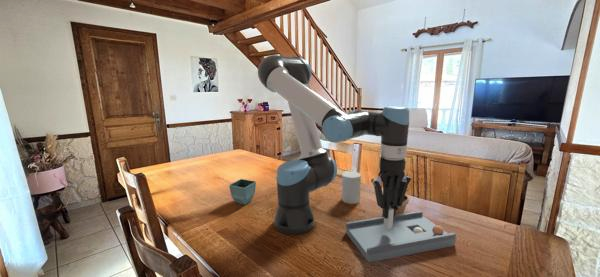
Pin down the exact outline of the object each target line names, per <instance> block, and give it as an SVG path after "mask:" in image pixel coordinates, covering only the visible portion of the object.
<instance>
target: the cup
mask: <svg viewBox="0 0 600 277" xmlns="http://www.w3.org/2000/svg"><path fill="white" fill-rule="evenodd" d="M361 180H362V174H361V173H360V172H357V171H344V172H342V174H341V201H342V202H344V203H346V204H349V205H350V204H351V205H355V204H359V203H360V202H361V188H362V187H361V184H362V182H361Z"/></svg>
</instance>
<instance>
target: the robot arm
mask: <svg viewBox="0 0 600 277" xmlns="http://www.w3.org/2000/svg"><path fill="white" fill-rule="evenodd" d="M257 75H258V79H259V81H260V83H261V85H263V86H264V87H265V88H266V89H267V90H268V91H270V92H271V93H277V94H278V95H280V96H281V97H282V98H283V99H285V100H286V101H287V103H288V108H289V111H290V116H291V118H292V123H293V127H294V131H295V134H296V139H297V141H298V145H299V150H300V155H299V157H298V159H294V160H288V161H285V162H283V163H281V164H280V165H279V166H278V167H277V169H276V190H277V208H276V212H275V215H274V218H273V220H274V221H273V223H274V224H273V225H274V228H275V229H276V230H277V231H278V232H279V233H280V234H281V233H282V234H285V235H290V236H294V235H301V234H304V233H307V232H309V231H311V230H312V229H313V228H314V227H315V214H314V213H313V210H312V207H311V204H310V193H313V192H315V191H317V190H319V189H321V188H323V187H326V186H328V185H330V184H331V183H332V182H334V180H335V179H336V177H337V175H338V167H337V163H336V161H335V159H334V158H332V157H331V156H330V155H329V154H328V151H327V149H325V148H323V147H322V143H321V139H320V136H319V131H318V129H317V125H318V126H319V127H321V130H322V134H323V135H324V138H325V139H326V140H327V141H328V142H330V143H335V144H336V143H342V142H343V143H344V142H346V141H348V140H351V139H355V138H360V137H361V136H362V137H363V136H367V135H368V136H374V137H375V136H376V137H380V138H381V141H380V151H379V152H380V154H379V155H380V157H379V172H378V174H377V177H376V178H372V179H371V183H372V185H373V187H374V193H375V197H376V200H375V201H376V204H377V206H378V207H379V208H381V209H382V217H384V225H385V226H386V227H387V228H388V229H389V228H392V227H393V217H395V211H396V210H398V206H401V205H402V203H403V199H404V196H405V195H406V193H407V192H406V190H407V189H408V188H407V187H409V186H408V185H409V184H410V183H411V181H412V178H411V177H410V176H406V175H407V174H406V175H405V170H406V165H407V163H406V162H407V159H406V157H407V151H408V150H407V149H408V138H409V137H408V136H409V129H410V128H409V127H410V110H409V108H408V107H406V106H394V105H391V106H384V107H383V108H382V112H379V111H378V112H377V111H366V110H351V111H349V113H345V112H344V111H342V110H341V109H339V108H338V107H336V106H335V105H333V104H332V103H331V102H330V101H328V100H327V99H325V98H324V97H322V96H321V95H320V94H318V93H317V92H315V91H314V90H312V89H311V88H310V81H311V79H312V78H311V77H312V68H311V65H310V63H309V62H308V61H307V60H306V59H304V58H302V57H300V56H299V57H298V56H287V55H278V54H271V55H268V56H266V57H264V58H263V59H262V60H261V61H260V63H259V65H258V68H257ZM316 124H317V125H316ZM382 187H383V188H382Z"/></svg>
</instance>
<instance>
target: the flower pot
mask: <svg viewBox="0 0 600 277" xmlns="http://www.w3.org/2000/svg"><path fill="white" fill-rule="evenodd" d="M228 186H229V191H230V192H229V193H230V196H231V198H232V200H233V201H234V202H235V203H237V204H240V205H247V204H248V203H250V202H251V201H252V200H253V198H254V196H255V193H256V187H257V181H255V180H249V179H244V178H243V179H242V178H240V179H238V180H236V181H234V182H232V183H230V184H229V185H228Z"/></svg>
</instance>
